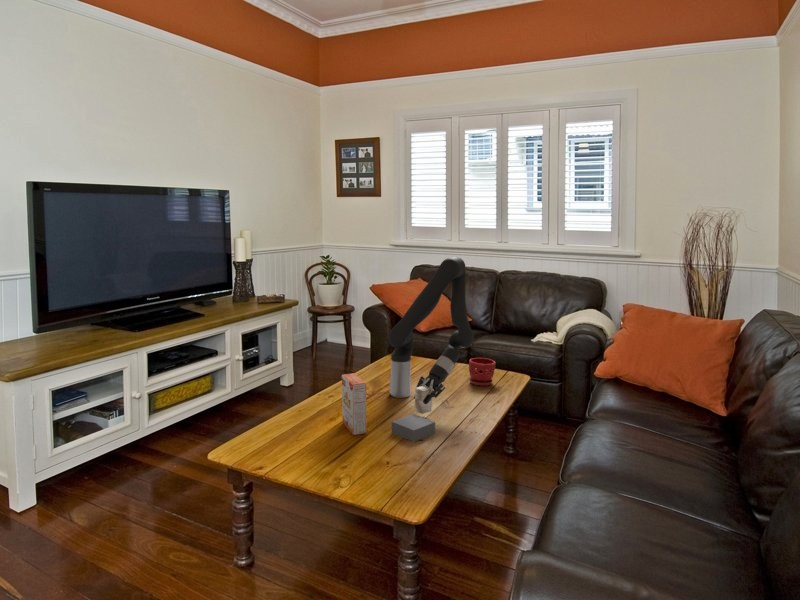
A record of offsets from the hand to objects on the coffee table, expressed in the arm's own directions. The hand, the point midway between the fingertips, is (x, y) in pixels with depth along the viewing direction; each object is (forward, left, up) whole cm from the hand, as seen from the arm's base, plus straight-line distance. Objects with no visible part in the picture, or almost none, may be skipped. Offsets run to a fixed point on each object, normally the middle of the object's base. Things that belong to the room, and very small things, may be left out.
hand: (420, 401), depth 229 cm
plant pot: (-17, +56, -8) cm, 59 cm away
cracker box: (-8, -28, -8) cm, 30 cm away
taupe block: (0, +2, -5) cm, 5 cm away
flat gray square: (+10, -12, -8) cm, 18 cm away
